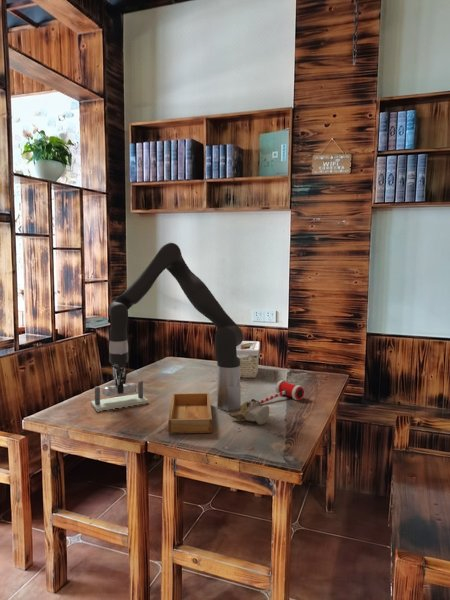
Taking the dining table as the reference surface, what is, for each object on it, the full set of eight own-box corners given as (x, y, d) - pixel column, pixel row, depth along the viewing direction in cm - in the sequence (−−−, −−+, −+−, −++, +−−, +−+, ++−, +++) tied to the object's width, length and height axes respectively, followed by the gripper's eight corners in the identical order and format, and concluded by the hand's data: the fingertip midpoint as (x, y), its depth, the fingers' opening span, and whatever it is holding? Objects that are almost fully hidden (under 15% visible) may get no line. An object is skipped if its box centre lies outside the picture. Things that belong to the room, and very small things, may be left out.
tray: (172, 405, 188) (172, 392, 187) (209, 405, 189) (209, 391, 188) (168, 436, 157) (168, 420, 157) (212, 435, 158) (212, 419, 158)
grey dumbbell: (134, 389, 193) (134, 382, 193) (137, 391, 190) (137, 384, 189) (101, 394, 186) (100, 387, 186) (103, 396, 183) (103, 389, 183)
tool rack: (140, 396, 198) (139, 377, 197) (148, 403, 189) (147, 383, 188) (91, 404, 188) (90, 384, 187) (96, 412, 179) (96, 391, 178)
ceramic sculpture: (260, 405, 161) (227, 399, 170) (260, 429, 162) (227, 422, 171) (276, 398, 169) (243, 392, 179) (277, 421, 170) (244, 414, 179)
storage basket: (230, 366, 251) (230, 339, 249) (260, 367, 249) (260, 340, 248) (226, 378, 227) (226, 349, 226) (258, 379, 226) (259, 350, 224)
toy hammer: (266, 410, 183) (266, 394, 182) (247, 402, 192) (247, 387, 191) (304, 399, 197) (305, 384, 196) (285, 392, 206) (285, 378, 205)
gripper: (105, 348, 190) (106, 388, 192) (114, 355, 178) (115, 398, 180) (122, 346, 194) (123, 386, 196) (132, 353, 182) (133, 395, 184)
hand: (119, 391), depth 188 cm, fingers closed on grey dumbbell, 3 cm apart
